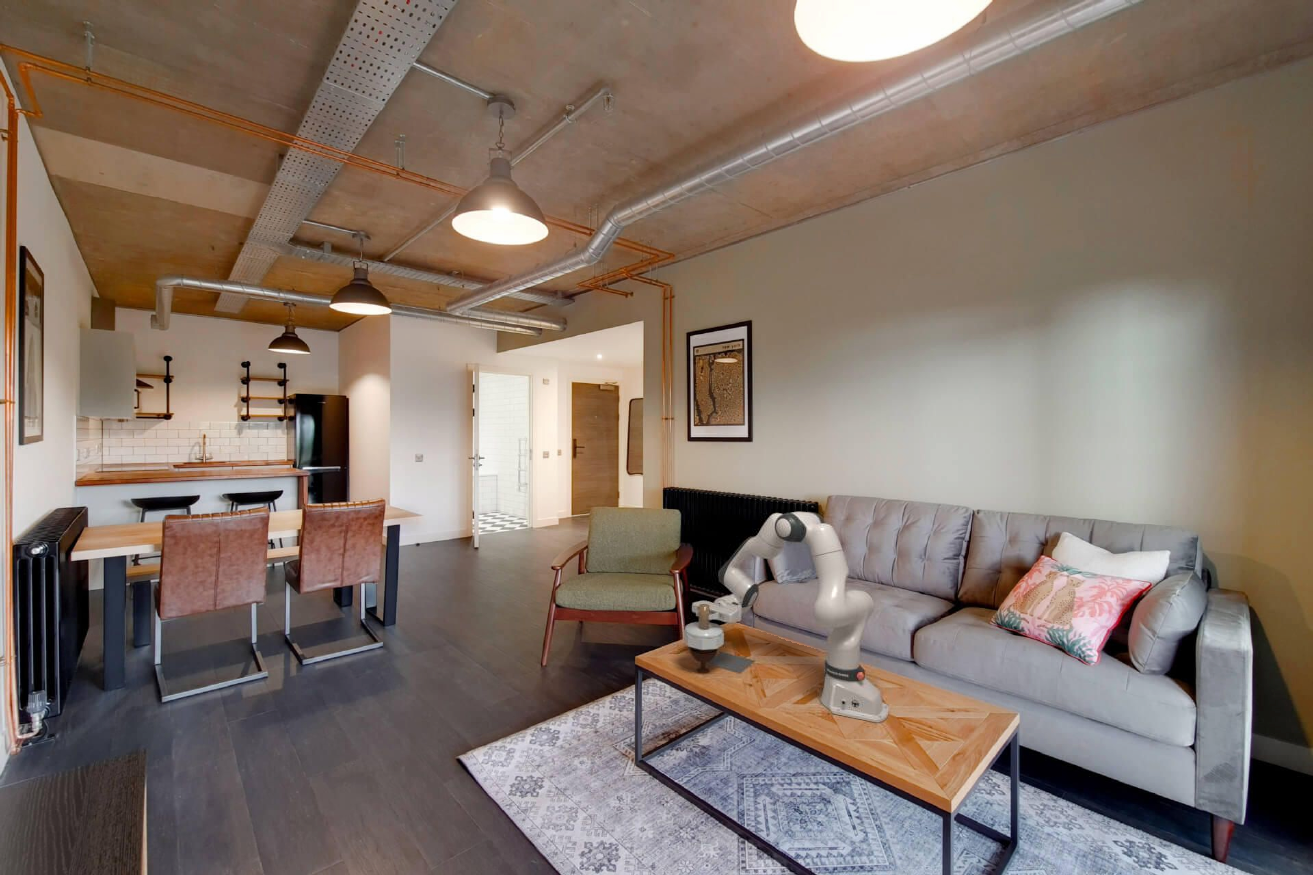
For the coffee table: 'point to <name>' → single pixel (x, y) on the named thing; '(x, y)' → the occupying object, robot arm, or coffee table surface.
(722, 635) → the hexagonal peg stand
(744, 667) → the mat
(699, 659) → the ice cream bowl
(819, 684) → the coffee table surface
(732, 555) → the robot arm
